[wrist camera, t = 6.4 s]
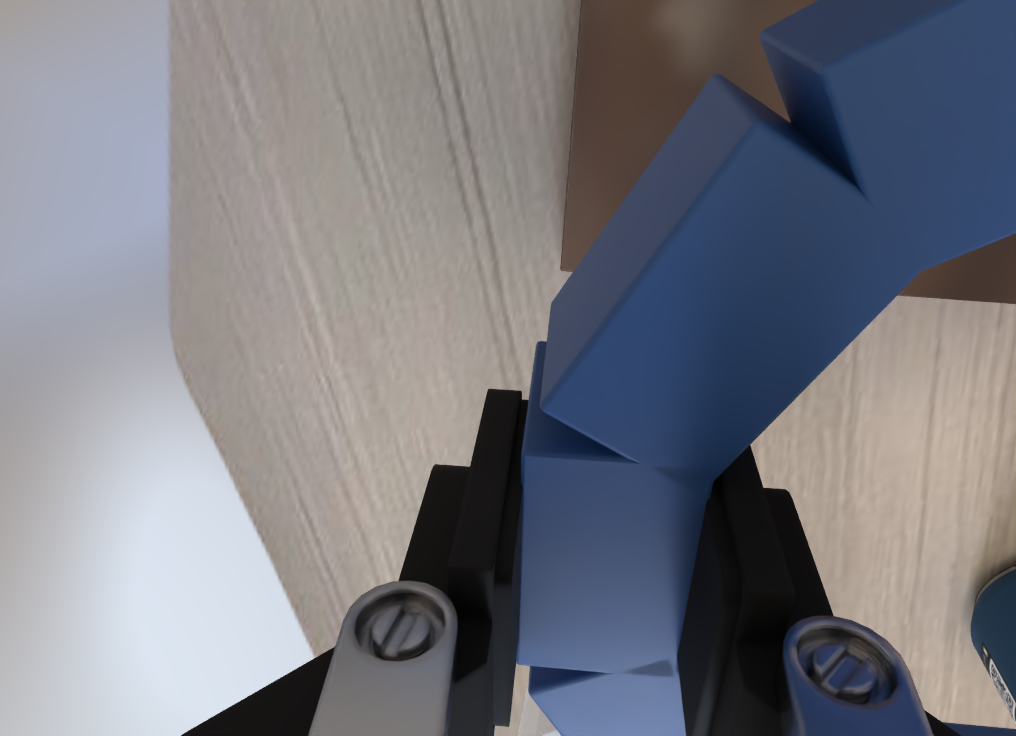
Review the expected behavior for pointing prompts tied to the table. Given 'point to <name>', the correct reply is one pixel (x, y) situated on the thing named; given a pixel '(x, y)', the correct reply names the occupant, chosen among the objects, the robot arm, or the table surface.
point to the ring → (739, 319)
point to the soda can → (998, 633)
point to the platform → (668, 95)
